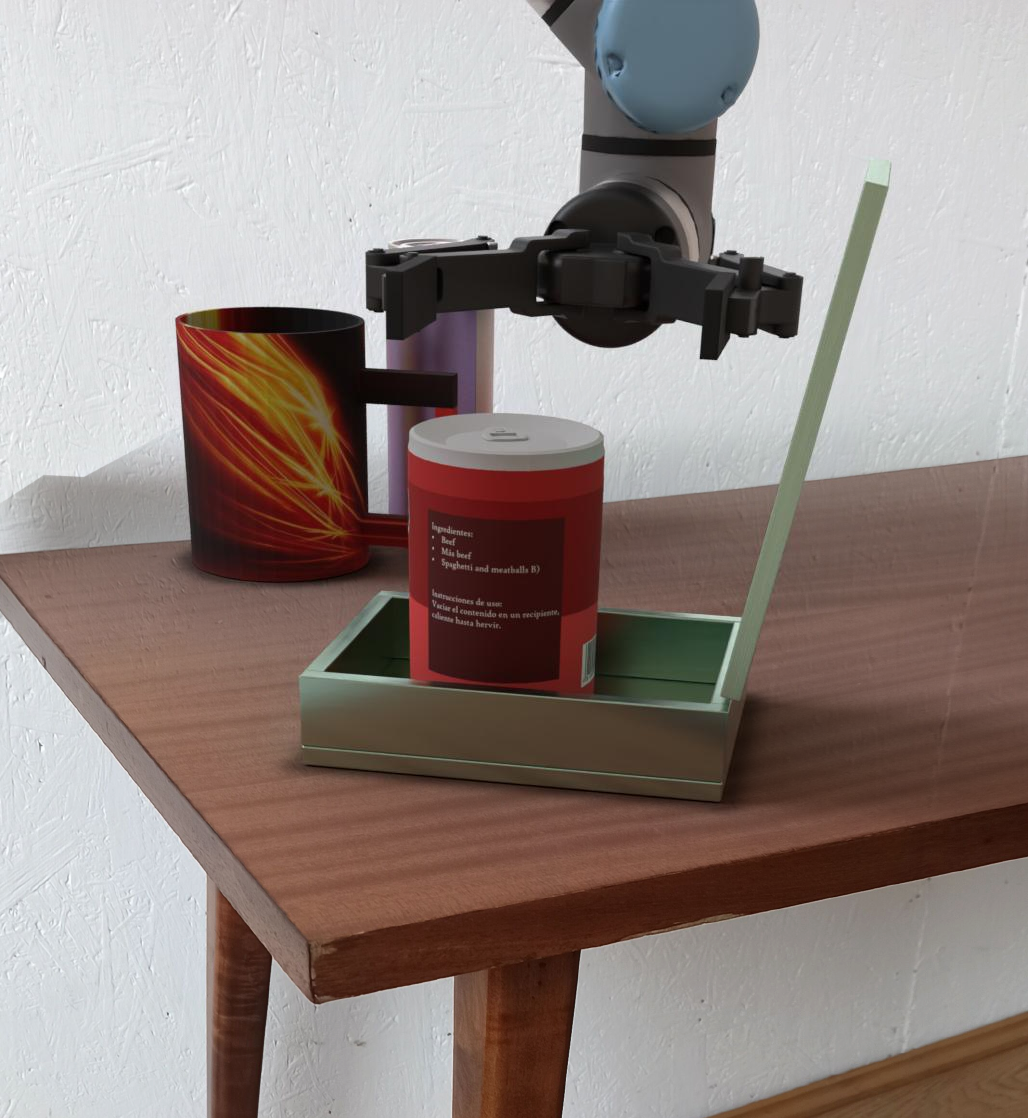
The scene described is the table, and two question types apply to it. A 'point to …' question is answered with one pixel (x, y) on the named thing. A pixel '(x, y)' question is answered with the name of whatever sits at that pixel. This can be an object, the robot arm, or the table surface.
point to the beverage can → (438, 348)
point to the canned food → (505, 550)
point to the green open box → (533, 709)
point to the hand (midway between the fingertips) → (550, 315)
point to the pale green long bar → (808, 423)
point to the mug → (287, 440)
